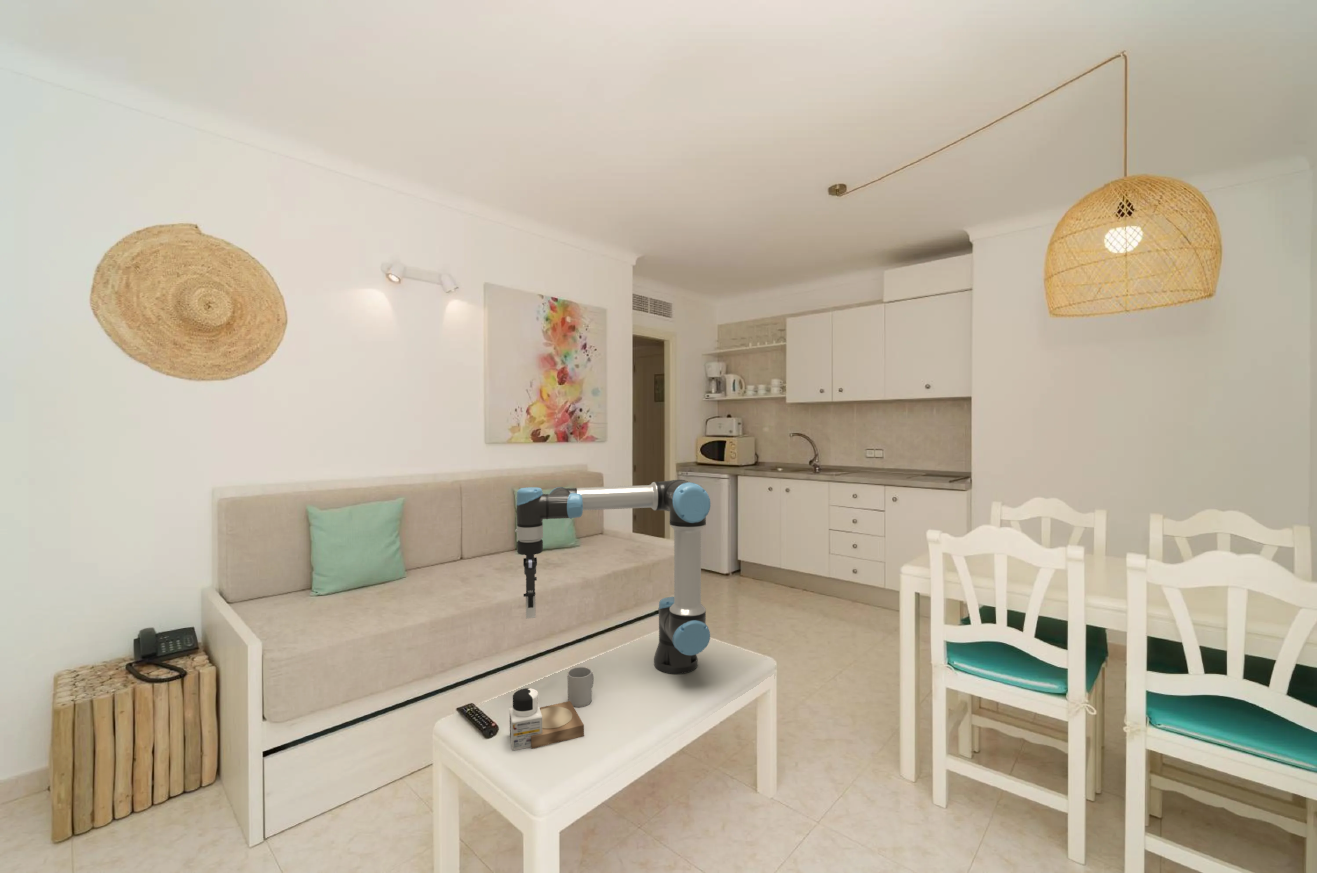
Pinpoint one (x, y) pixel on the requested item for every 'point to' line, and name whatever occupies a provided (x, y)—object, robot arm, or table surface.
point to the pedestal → (558, 725)
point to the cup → (580, 686)
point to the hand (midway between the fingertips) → (530, 610)
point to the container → (524, 718)
